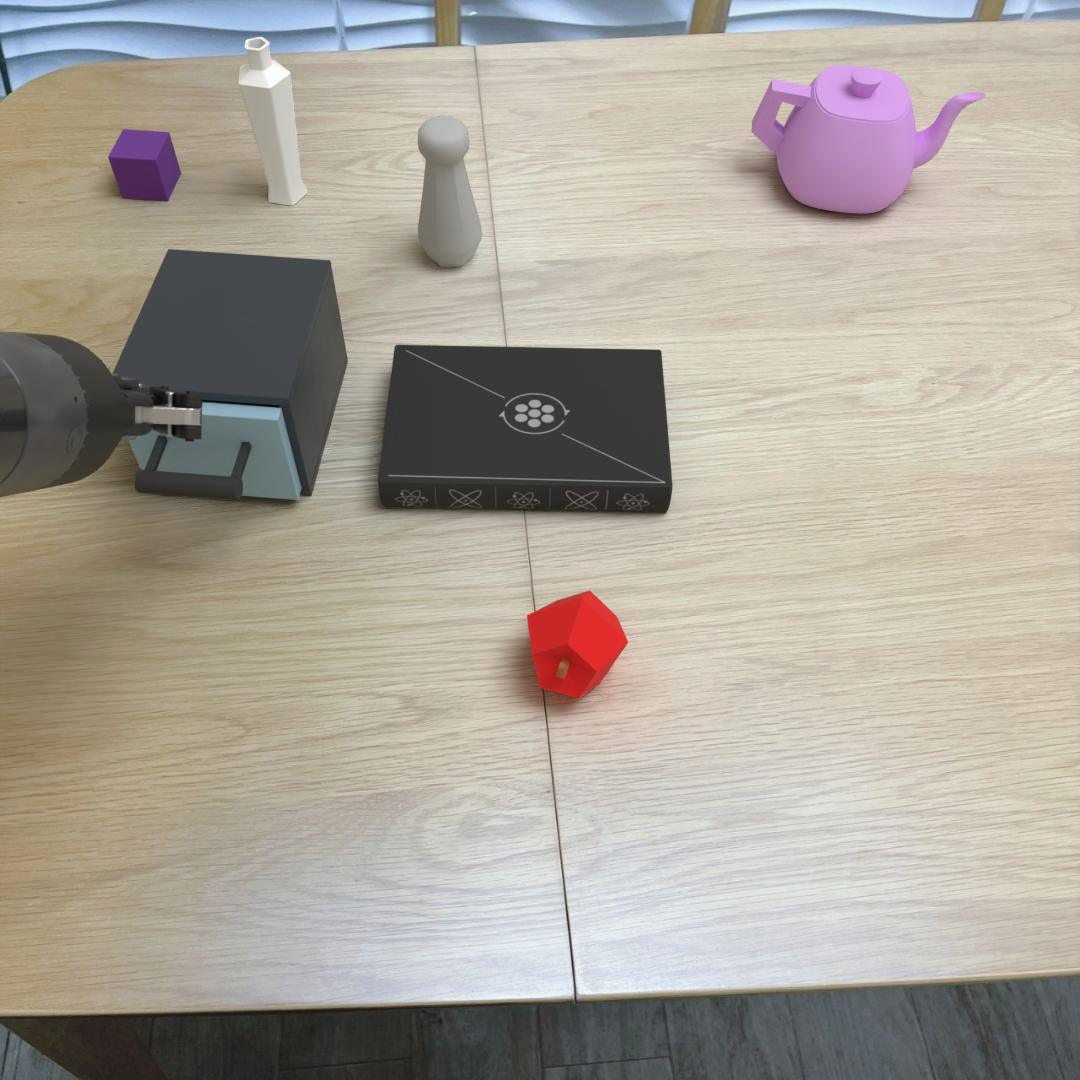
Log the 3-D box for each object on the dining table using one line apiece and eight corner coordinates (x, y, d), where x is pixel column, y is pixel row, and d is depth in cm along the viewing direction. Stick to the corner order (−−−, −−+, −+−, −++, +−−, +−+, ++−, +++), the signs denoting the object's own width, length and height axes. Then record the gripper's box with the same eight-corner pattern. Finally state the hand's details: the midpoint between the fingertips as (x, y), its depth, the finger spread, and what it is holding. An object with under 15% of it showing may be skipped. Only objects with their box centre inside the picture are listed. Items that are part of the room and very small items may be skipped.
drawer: (284, 552, 79) (260, 473, 72) (128, 540, 79) (90, 460, 72) (334, 372, 90) (318, 288, 82) (197, 362, 90) (170, 278, 83)
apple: (556, 550, 74) (523, 616, 67) (648, 591, 73) (624, 662, 67) (525, 623, 78) (491, 693, 71) (613, 663, 77) (586, 737, 71)
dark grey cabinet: (311, 496, 83) (288, 398, 74) (148, 483, 83) (106, 385, 75) (348, 361, 92) (330, 259, 83) (200, 350, 92) (167, 248, 84)
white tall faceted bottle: (252, 192, 105) (217, 42, 93) (290, 174, 107) (261, 24, 95) (279, 215, 103) (247, 64, 91) (317, 196, 105) (291, 46, 93)
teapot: (950, 236, 103) (992, 130, 94) (737, 208, 105) (758, 102, 96) (946, 153, 110) (983, 48, 102) (748, 129, 112) (768, 24, 103)
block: (121, 198, 104) (107, 156, 101) (136, 169, 107) (122, 128, 103) (168, 201, 104) (155, 160, 100) (181, 173, 107) (169, 131, 103)
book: (380, 511, 82) (376, 485, 80) (397, 370, 91) (394, 344, 89) (668, 516, 82) (673, 490, 80) (657, 375, 91) (661, 349, 89)
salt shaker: (495, 248, 101) (492, 121, 90) (457, 282, 98) (450, 155, 87) (444, 225, 102) (436, 97, 92) (406, 257, 100) (393, 130, 89)
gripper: (146, 342, 50) (261, 350, 67) (-135, 320, 50) (50, 334, 68) (143, 504, 51) (257, 472, 68) (-132, 482, 52) (49, 455, 69)
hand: (154, 404), depth 68 cm, fingers closed
